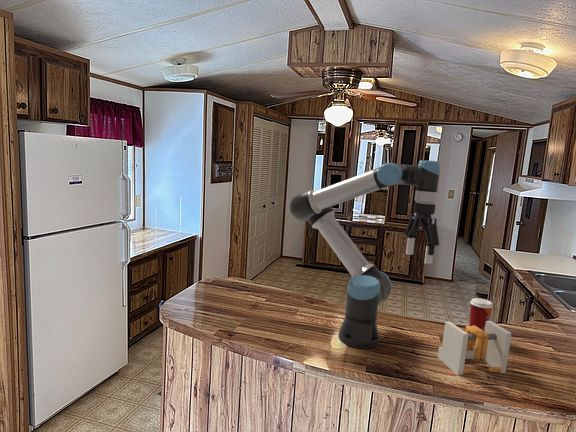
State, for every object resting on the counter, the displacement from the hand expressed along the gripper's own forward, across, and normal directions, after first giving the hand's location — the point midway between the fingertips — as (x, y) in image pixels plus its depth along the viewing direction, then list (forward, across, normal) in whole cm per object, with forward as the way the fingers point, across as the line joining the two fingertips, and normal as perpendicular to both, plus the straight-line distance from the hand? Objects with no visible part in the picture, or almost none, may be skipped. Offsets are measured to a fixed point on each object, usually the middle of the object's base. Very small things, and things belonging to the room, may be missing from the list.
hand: (418, 258), depth 150 cm
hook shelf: (+32, -22, -12) cm, 40 cm away
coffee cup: (+32, 0, -30) cm, 44 cm away
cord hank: (+27, -22, -12) cm, 37 cm away
